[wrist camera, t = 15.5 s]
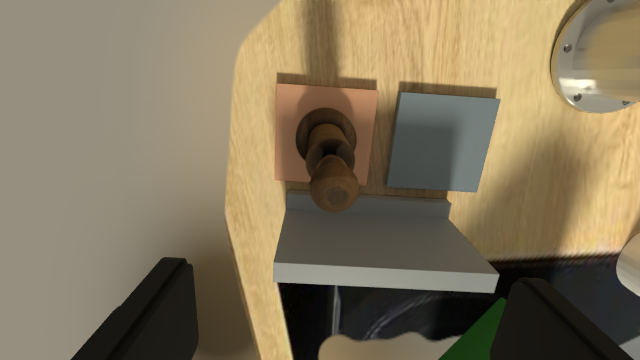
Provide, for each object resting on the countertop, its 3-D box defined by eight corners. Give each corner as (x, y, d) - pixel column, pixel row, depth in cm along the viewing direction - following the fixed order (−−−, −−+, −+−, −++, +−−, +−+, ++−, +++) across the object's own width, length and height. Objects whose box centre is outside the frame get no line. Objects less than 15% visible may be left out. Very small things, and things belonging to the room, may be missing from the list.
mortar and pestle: (359, 111, 33) (405, 148, 16) (349, 167, 35) (382, 252, 18) (299, 103, 33) (282, 132, 16) (293, 160, 35) (272, 240, 18)
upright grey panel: (446, 199, 38) (505, 255, 26) (437, 241, 40) (488, 310, 28) (287, 189, 37) (273, 242, 25) (286, 232, 39) (272, 300, 27)
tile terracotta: (376, 90, 33) (378, 90, 32) (365, 182, 37) (366, 185, 36) (277, 83, 33) (276, 83, 32) (275, 177, 37) (274, 180, 36)
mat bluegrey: (495, 98, 34) (500, 99, 33) (472, 189, 37) (476, 192, 36) (399, 91, 33) (401, 92, 32) (385, 184, 37) (387, 187, 36)
